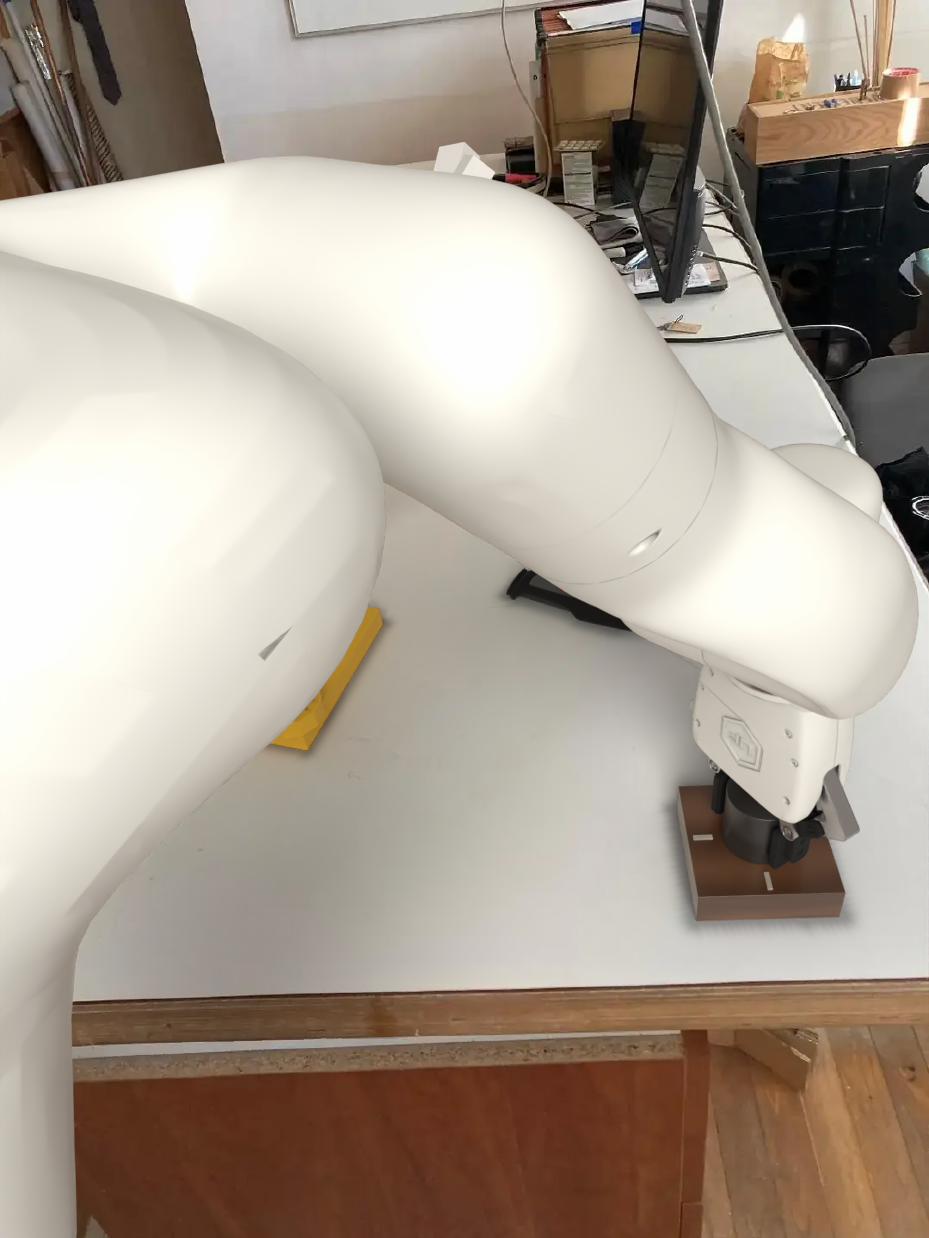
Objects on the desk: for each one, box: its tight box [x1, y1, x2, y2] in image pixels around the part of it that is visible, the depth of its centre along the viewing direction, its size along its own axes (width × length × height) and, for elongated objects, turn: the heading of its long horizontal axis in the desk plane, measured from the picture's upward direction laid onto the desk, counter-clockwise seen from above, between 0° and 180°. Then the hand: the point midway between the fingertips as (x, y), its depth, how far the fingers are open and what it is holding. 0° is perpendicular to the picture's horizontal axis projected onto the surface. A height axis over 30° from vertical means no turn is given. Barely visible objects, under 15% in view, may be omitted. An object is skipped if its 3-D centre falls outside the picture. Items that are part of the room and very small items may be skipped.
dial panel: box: [676, 784, 846, 922], centre depth 69 cm, size 10×10×3 cm
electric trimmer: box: [506, 568, 633, 632], centre depth 94 cm, size 4×16×3 cm, turn 54°
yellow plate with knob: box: [269, 606, 384, 751], centre depth 90 cm, size 19×13×4 cm
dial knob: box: [722, 777, 780, 864], centre depth 67 cm, size 5×5×5 cm
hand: (757, 828), depth 68 cm, fingers closed on dial knob, 5 cm apart
